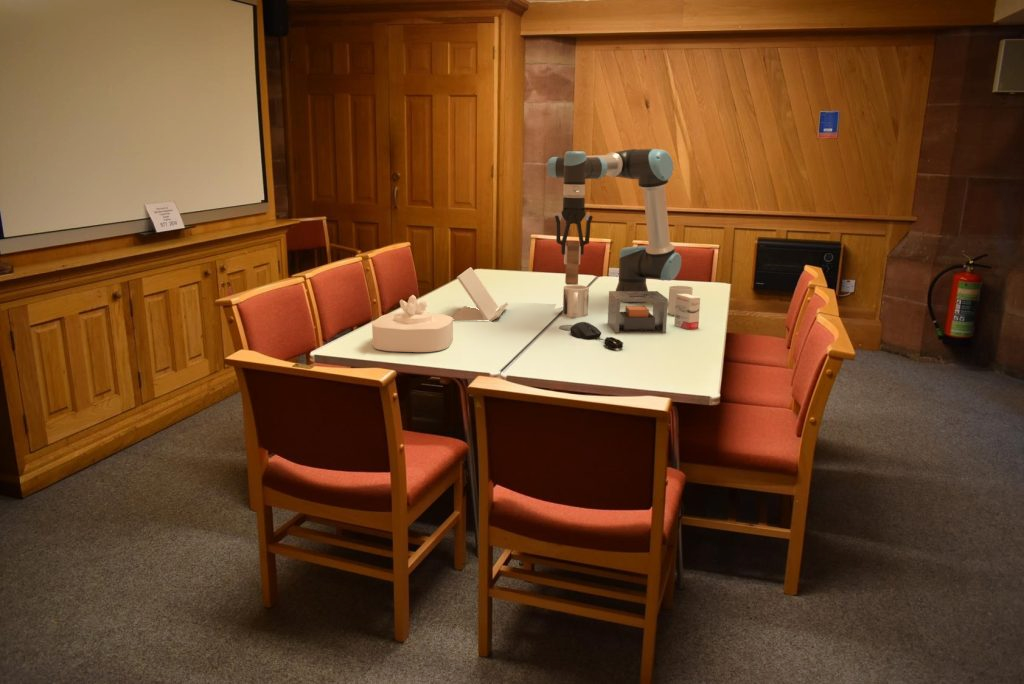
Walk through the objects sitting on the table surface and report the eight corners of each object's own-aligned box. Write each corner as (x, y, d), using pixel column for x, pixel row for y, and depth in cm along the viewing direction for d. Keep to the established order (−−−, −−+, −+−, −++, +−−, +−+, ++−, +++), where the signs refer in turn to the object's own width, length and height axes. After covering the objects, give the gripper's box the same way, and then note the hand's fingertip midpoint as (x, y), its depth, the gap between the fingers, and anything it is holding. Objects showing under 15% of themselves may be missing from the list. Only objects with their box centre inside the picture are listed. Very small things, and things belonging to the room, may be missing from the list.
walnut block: (565, 282, 279) (566, 240, 275) (576, 282, 279) (577, 241, 275) (566, 284, 275) (567, 242, 271) (577, 284, 275) (579, 242, 271)
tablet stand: (451, 320, 293) (451, 275, 289) (464, 308, 317) (464, 266, 313) (499, 322, 290) (499, 277, 286) (508, 309, 314) (508, 267, 310)
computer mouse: (582, 331, 277) (583, 318, 276) (631, 348, 254) (632, 334, 253) (563, 334, 273) (563, 320, 272) (611, 351, 250) (612, 337, 249)
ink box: (699, 328, 282) (701, 296, 279) (688, 329, 280) (690, 297, 277) (684, 324, 290) (686, 293, 287) (673, 325, 288) (675, 293, 285)
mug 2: (688, 318, 300) (690, 290, 297) (665, 316, 303) (667, 288, 301) (694, 313, 310) (696, 285, 308) (672, 311, 314) (674, 283, 311)
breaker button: (624, 322, 285) (625, 306, 283) (643, 322, 285) (644, 306, 284) (628, 326, 278) (629, 309, 277) (647, 326, 278) (648, 309, 277)
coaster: (558, 325, 284) (558, 324, 284) (579, 325, 285) (579, 324, 285) (560, 330, 277) (560, 329, 277) (582, 330, 277) (582, 329, 277)
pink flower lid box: (444, 353, 245) (443, 302, 241) (366, 350, 247) (364, 300, 243) (456, 335, 269) (456, 289, 266) (386, 332, 271) (384, 287, 268)
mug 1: (594, 315, 304) (595, 287, 301) (575, 319, 296) (576, 290, 293) (573, 311, 311) (574, 284, 308) (554, 315, 302) (554, 287, 300)
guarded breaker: (607, 323, 289) (609, 291, 286) (655, 323, 290) (657, 291, 287) (615, 333, 274) (616, 299, 271) (665, 333, 275) (667, 299, 272)
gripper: (550, 197, 266) (549, 265, 271) (600, 197, 267) (597, 265, 272) (548, 196, 273) (547, 262, 278) (596, 196, 274) (594, 262, 279)
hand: (572, 263), depth 275 cm, fingers closed on walnut block, 4 cm apart
